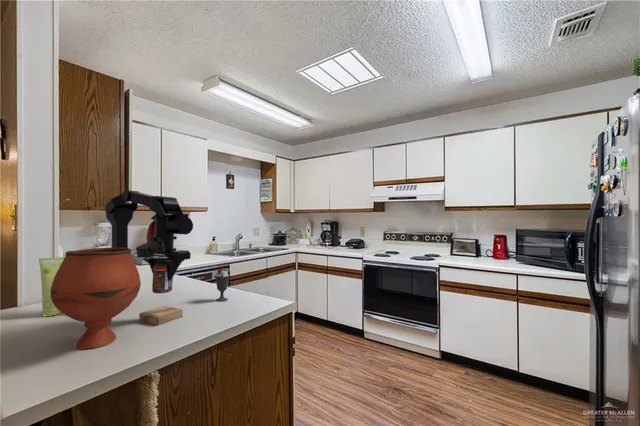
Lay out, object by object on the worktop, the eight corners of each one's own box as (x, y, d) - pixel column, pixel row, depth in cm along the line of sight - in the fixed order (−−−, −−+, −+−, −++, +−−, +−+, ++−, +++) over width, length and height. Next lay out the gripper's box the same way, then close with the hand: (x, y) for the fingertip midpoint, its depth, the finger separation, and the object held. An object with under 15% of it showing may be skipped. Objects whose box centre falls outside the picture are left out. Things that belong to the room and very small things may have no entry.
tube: (49, 317, 92) (52, 258, 93) (35, 317, 93) (38, 258, 93) (66, 312, 98) (69, 256, 99) (53, 311, 98) (55, 256, 99)
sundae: (210, 301, 114) (211, 264, 114) (218, 297, 121) (219, 262, 121) (225, 302, 113) (226, 265, 113) (232, 298, 119) (233, 263, 120)
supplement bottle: (147, 293, 92) (148, 258, 92) (161, 289, 98) (162, 256, 98) (163, 294, 91) (164, 259, 91) (176, 290, 96) (177, 257, 97)
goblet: (126, 323, 89) (129, 245, 90) (149, 340, 77) (152, 250, 77) (41, 343, 74) (46, 248, 75) (53, 368, 62) (59, 255, 63)
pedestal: (139, 320, 91) (139, 312, 91) (163, 312, 100) (164, 305, 100) (158, 325, 88) (158, 316, 88) (182, 316, 96) (182, 308, 96)
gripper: (121, 233, 91) (119, 281, 90) (162, 235, 84) (161, 287, 83) (153, 232, 101) (151, 275, 100) (192, 234, 94) (190, 280, 94)
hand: (162, 279), depth 94 cm, fingers closed on supplement bottle, 6 cm apart
